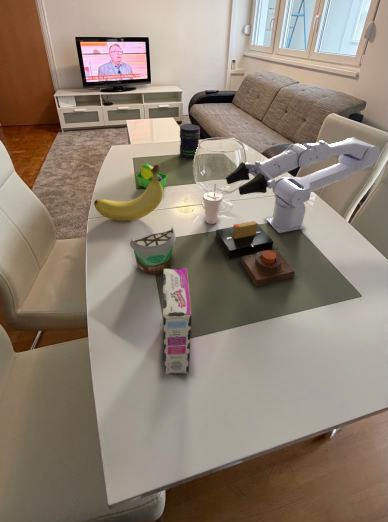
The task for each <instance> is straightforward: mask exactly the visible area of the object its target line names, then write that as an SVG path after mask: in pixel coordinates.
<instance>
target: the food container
mask: <svg viewBox="0 0 388 522" xmlns="http://www.w3.org/2000/svg"><path fill="white" fill-rule="evenodd" d="M176 240H177V238H176V233H175V230H174V227H171V229H169V230H166V231H162V232H158V233H152V234H150V235H147V236H144V237H142V238H139V239H135V240H134V239H133V238H131V240H130V241H129V246H130V247H131V249H132V250H133V253H134V257H135V262H136V265H137V268H138V270H140V271H141V272H142V273H144V274H147V275H158V274H163V273H164V269H170V266H171V264H172V256H173V255H172V254H173V246H174V245H175V243H176Z"/></svg>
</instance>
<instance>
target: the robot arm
mask: <svg viewBox="0 0 388 522" xmlns="http://www.w3.org/2000/svg"><path fill="white" fill-rule="evenodd" d="M380 154H381V150H380V147H378V146H377V145H373V144H370V143H368V142H365V141H364V140H363V141H362V140H360V139H358V138H356V137H348V138H346V139H345V140H343V141H338V142H335V143H331V144H329V143H328V142H326V141H324V140H318V142H315V143H308V142H307V143H305V144H303V145H302V144H299V143H295V144H294V143H291V144H290V145H288V147H287V148H286V149H285V150H283V151H282V152H281V153H279V154H276V155H275V156H272V157H270V158H268V159H266V160H263V161H261V162H260V161H259V160H255V161H254V163H249V162H243V161H241V162H240V163H239V165H238V166H237V167H236V168H235V170H233V171H232V172H231V173H230V174H228V175H227V176H226V177H225V180H226V184H227V185H231V184H235V183H237V182H241V181H247V182H245V183H243V184H241V185H240V186H239V187H238V193H239V195H240V196H244V195H249V194H255V193H257V194H258V193H259V194H266V193H267V192H268V190H267V188H268V189H272V190H271V191H272V193H273V194H274V199H275V200H274V206H273V212H272V217H268V218H266V219H265V220H266V221H267V223H268V224H269V225H270V226H271V227H272V228H273V229H274V230H275V231H276V232H277V233H278V234H282V233H288V232H293V231H297V230H302V229H304V226H303V223H304V218H305V214H306V205H305V203H307V202H308V201H310V198H311V194H312V193H313V192H316V191H318V190H320V189H323V188H325V187H328V186H330V185H333V184H336V183H338V182H341V181H343V180H346V179H348V178H351V177H353V176H354V175H356V174H357V173H358V172H360V171H363V170H365V169H367V168H370V167H372V166H374V164H376V162H377V160H378V159H379V157H380ZM335 156H338V159H337V162H338V163H336V164H333V165H331V166H328V167H325V168H322V169H319V170H317V171H315V172H313V173H310V174H306V175H304V176H302V177H299V176H289V177H285V176H284V177H282V175H284V174H286V173H289V172H290V171H293V170H295V169H297V168H301V169H307V168H310V166H312V165H314V164H315V163H321V162H325V161H329V159H330V158H331V157H335ZM250 174H251V176H253V178H252V179H250V176H249V175H250ZM280 176H281V177H280ZM278 177H279V178H278ZM275 178H278V179H276V180H275Z"/></svg>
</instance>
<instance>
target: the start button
mask: <svg viewBox="0 0 388 522" xmlns="http://www.w3.org/2000/svg"><path fill="white" fill-rule="evenodd" d="M261 259H262V261H263V262H264V263H266V264H273V263H275V259H276V254H275V253H274V252H273V251H271V250H265V251H263V253H262V257H261Z"/></svg>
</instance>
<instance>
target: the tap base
mask: <svg viewBox="0 0 388 522" xmlns="http://www.w3.org/2000/svg"><path fill="white" fill-rule="evenodd" d="M256 223H257V230H256V235H252V236H247V237H242V238H237V239H234V237H233V226H229V227H224V228H218V229H216V230H215V238H216V240H217V242H218V243H219V246H220V247H221V248H222V250H223V252H224V253H225V256H226V257H227V258H228V259H235V258H239V257H244V256H248V255H253V254H257V253H258V252H260V251H264V250H270V251H271V250H273V247H274V246H273V245H274V240H273V239H272V238H271V237H270V235H269V234H268V233H267V232H266V231H265V230H264V229H263V228H262V226H261V225H260V224H259V222H256Z"/></svg>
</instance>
